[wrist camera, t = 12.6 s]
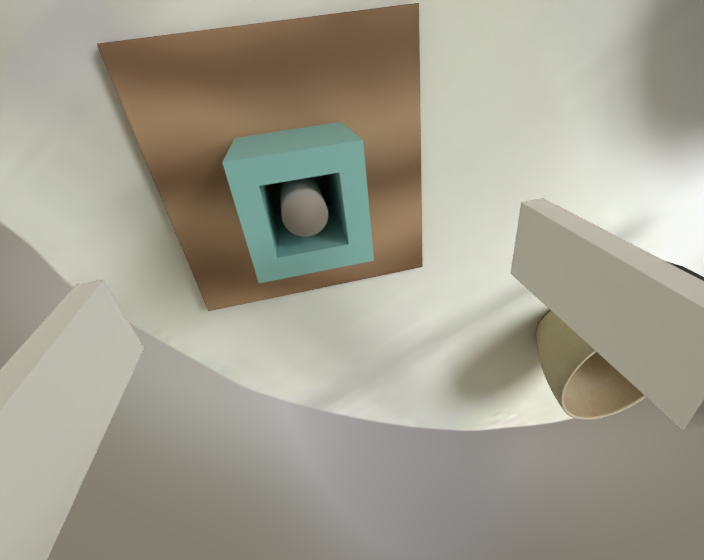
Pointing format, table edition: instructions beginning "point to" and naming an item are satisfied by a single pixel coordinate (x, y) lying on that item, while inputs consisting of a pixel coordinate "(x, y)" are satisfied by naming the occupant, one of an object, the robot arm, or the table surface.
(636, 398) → the flower pot
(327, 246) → the collar
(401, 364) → the table surface
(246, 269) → the post block
